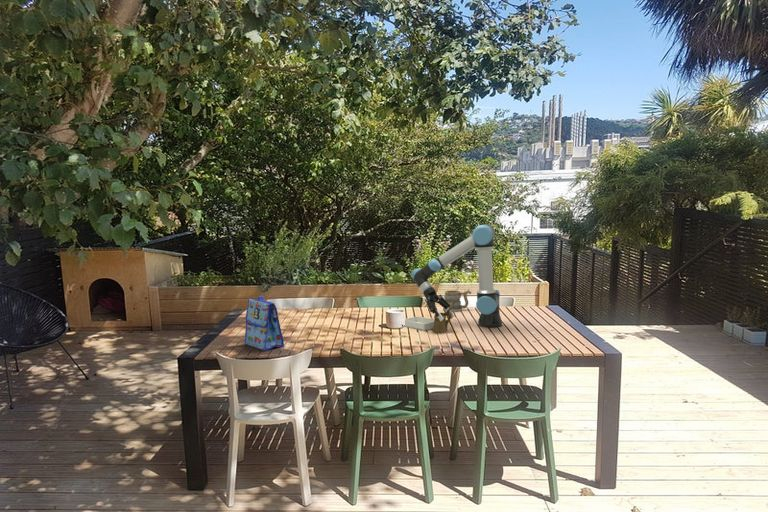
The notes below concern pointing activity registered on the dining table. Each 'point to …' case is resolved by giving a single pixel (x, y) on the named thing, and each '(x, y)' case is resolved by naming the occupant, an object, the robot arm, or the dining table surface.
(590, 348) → the dining table surface
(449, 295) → the tankard
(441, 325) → the wooden mug
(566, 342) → the dining table surface
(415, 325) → the mug tray
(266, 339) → the lunch bag
